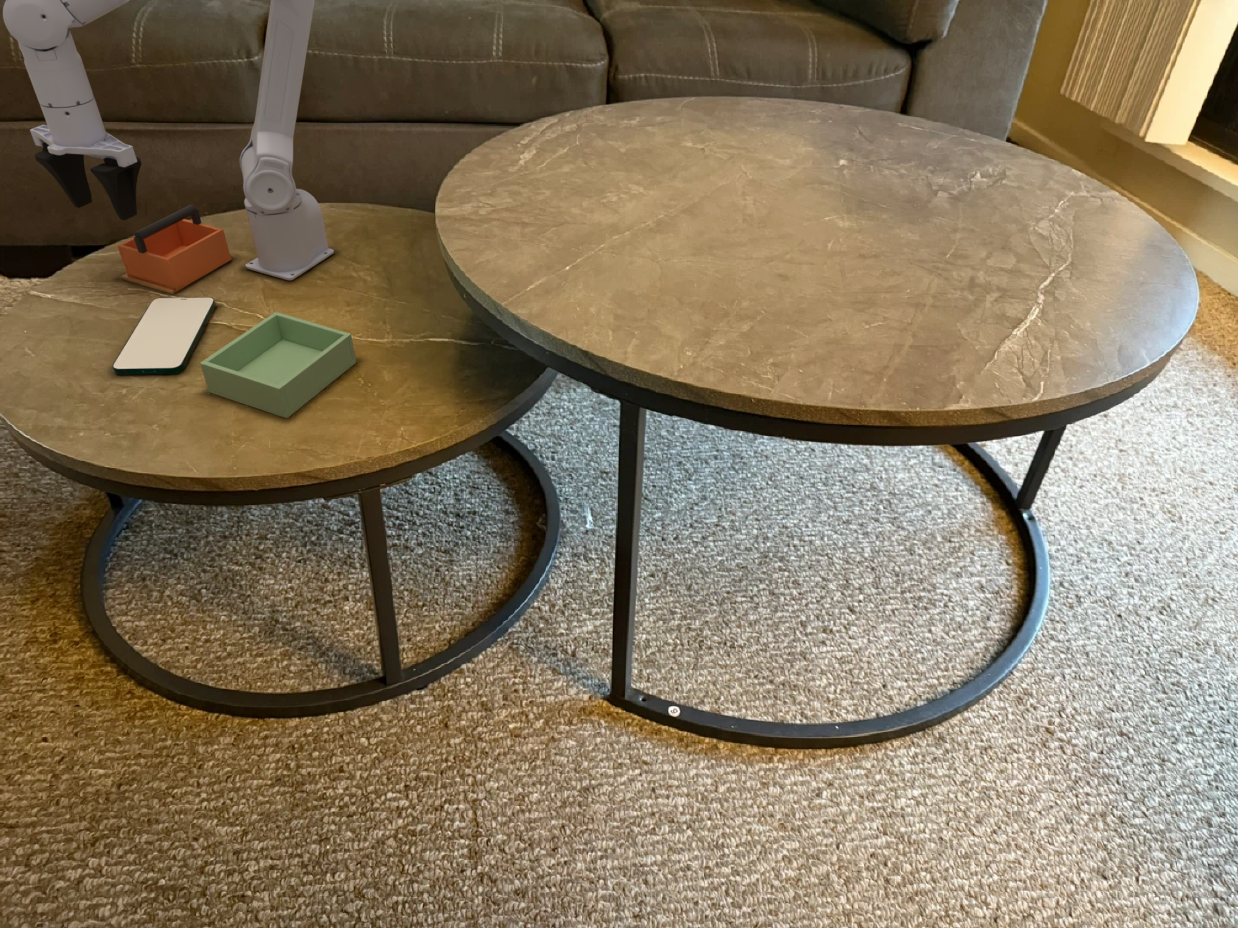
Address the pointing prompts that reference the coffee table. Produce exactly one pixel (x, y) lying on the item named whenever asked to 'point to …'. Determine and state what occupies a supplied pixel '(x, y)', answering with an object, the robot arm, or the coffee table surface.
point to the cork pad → (125, 277)
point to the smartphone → (165, 336)
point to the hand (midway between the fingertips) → (106, 210)
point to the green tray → (279, 364)
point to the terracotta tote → (174, 250)
